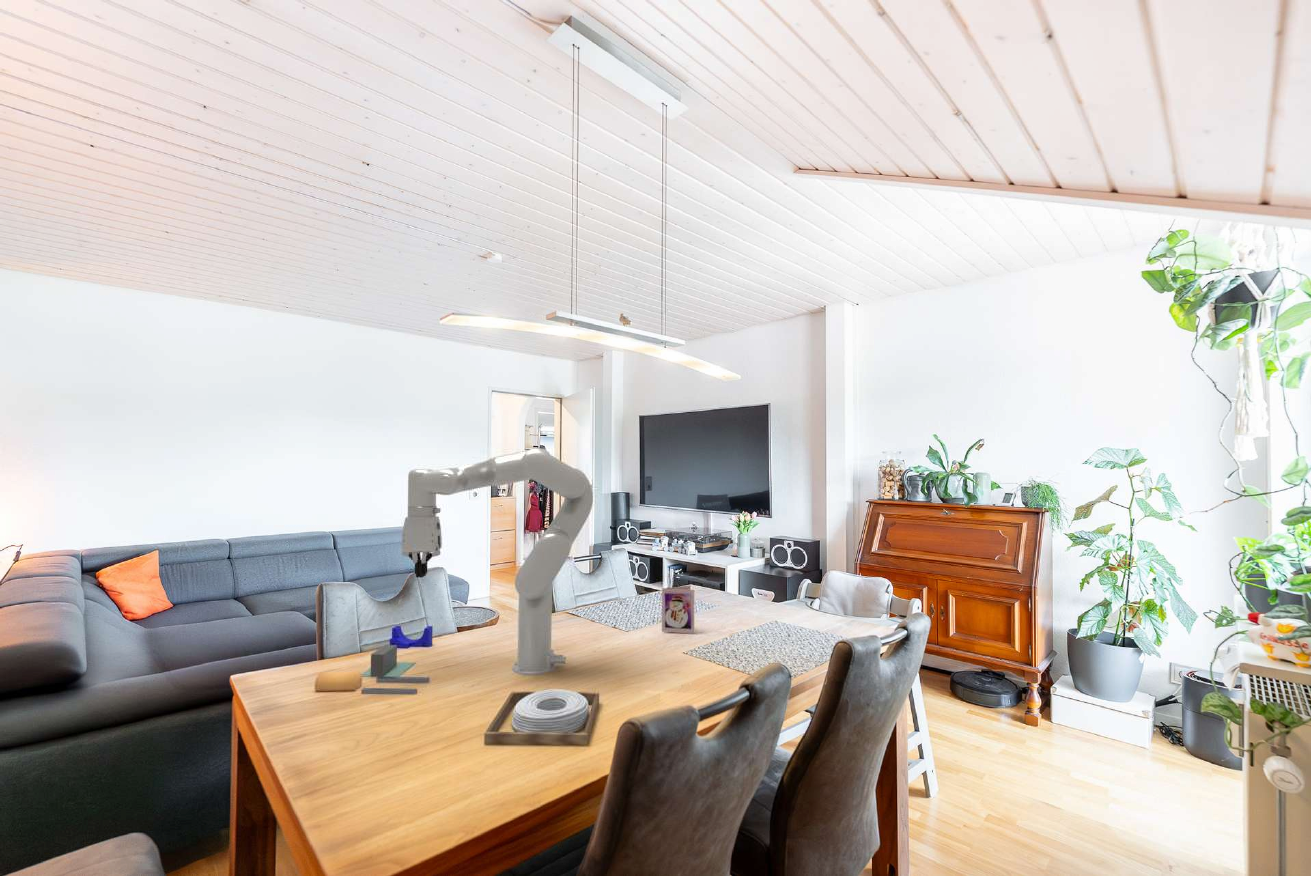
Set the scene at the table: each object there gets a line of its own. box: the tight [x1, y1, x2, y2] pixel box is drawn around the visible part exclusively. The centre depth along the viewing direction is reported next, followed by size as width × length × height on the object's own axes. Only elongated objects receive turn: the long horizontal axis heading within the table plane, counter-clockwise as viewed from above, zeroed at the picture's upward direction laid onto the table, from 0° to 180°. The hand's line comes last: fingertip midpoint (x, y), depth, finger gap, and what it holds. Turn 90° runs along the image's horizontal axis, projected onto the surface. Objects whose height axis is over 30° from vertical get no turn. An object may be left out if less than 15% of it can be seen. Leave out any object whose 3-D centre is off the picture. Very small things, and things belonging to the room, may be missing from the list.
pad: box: [361, 661, 417, 678], centre depth 166 cm, size 11×11×1 cm
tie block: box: [370, 644, 398, 676], centre depth 165 cm, size 4×8×6 cm, turn 179°
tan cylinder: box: [314, 672, 363, 692], centre depth 152 cm, size 10×4×4 cm, turn 93°
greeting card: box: [661, 585, 695, 634], centre depth 206 cm, size 11×7×15 cm, turn 80°
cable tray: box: [483, 690, 600, 747], centre depth 132 cm, size 22×22×4 cm
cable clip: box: [389, 625, 434, 650], centre depth 187 cm, size 12×4×6 cm, turn 88°
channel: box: [360, 676, 431, 695], centre depth 153 cm, size 14×9×2 cm, turn 89°
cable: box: [511, 688, 590, 733], centre depth 133 cm, size 18×18×6 cm
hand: (420, 576), depth 166 cm, fingers closed
